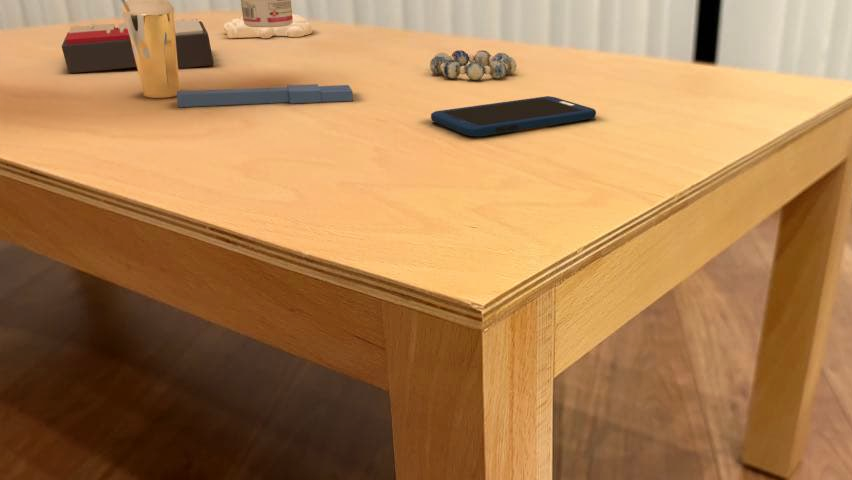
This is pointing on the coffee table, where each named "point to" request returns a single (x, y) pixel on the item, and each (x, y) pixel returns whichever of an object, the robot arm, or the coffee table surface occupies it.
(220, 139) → the coffee table surface
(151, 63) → the milkshake
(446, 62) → the bracelet
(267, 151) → the coffee table surface
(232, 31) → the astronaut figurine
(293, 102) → the blue ruler strip
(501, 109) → the cell phone
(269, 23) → the pill bottle
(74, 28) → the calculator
